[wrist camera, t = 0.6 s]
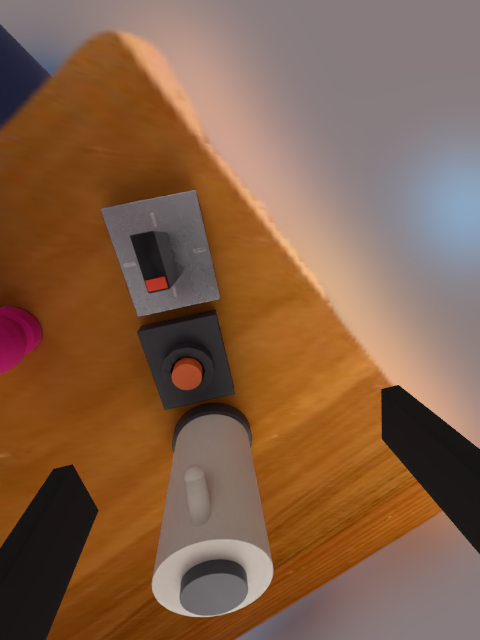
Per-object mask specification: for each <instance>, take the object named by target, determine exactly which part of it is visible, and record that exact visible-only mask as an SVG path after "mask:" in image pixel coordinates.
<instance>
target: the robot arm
mask: <svg viewBox="0 0 480 640" xmlns="http://www.w3.org/2000/svg"><path fill="white" fill-rule="evenodd" d="M381 394H382V440H383V441H384V442H385V443H386V444H387V445H388V447H389V448H390V449H391V450H392V451H393V452H394V454H395V455H396V456H397V457H398V458H399V460H400V461H401V462H402V463H403V464H404V465H405V467H406V468H407V469H408V470H409V471H410V473H411V474H412V475H413V476H414V477H415V478H416V480H417V481H418V482H419V483H420V484H421V485H422V487H423V488H424V489H425V490H426V491H427V493H428V494H429V495H430V496H431V497H432V498H433V500H434V501H435V502H436V503H437V504H438V506H439V507H440V508H441V509H442V510H443V511H444V512H445V514H446V515H447V516H448V517H449V518H450V519H451V521H452V522H453V523H454V524H455V526H456V527H457V528H458V529H459V530H460V531H461V533H462V534H463V535H464V536H465V537H466V539H467V540H468V541H469V542H470V543H471V544H472V546H473V547H474V548H475V549H476V550H477V551H478V553H479V554H480V449H479V448H477V447H476V446H475V445H474V444H472V443H471V442H470V441H469V440H467V439H466V438H465V437H463V436H462V435H461V434H460V433H459V432H457V431H456V430H455V429H453V428H452V427H451V426H450V425H448V424H447V423H446V422H445V421H443V420H442V419H441V418H440V417H438V416H437V415H436V414H434V413H433V412H432V411H431V410H429V409H428V408H427V407H425V406H424V405H423V404H422V403H420V402H419V401H418V400H417V399H415V398H414V397H413V396H412V395H410V394H409V393H408V392H407V391H405V390H404V389H403V388H402V387H400V386H399V385H397V386H392V387H388V388H384V389H381ZM97 513H98V509H97V507H96V505H95V503H94V502H93V500H92V498H91V496H90V495H89V493H88V491H87V489H86V487H85V486H84V484H83V482H82V480H81V479H80V477H79V475H78V473H77V471H76V470H75V468H74V466H73V464H72V465H68V466H64V467H60V468H56V469H53V471H52V472H51V474H50V475H49V476H48V478H47V479H46V481H45V482H44V484H43V485H42V487H41V488H40V490H39V491H38V493H37V494H36V496H35V497H34V499H33V500H32V502H31V503H30V505H29V506H28V508H27V509H26V511H25V512H24V514H23V515H22V517H21V518H20V520H19V521H18V523H17V524H16V526H15V527H14V529H13V530H12V532H11V533H10V535H9V536H8V538H7V539H6V541H5V542H4V544H3V545H2V546H1V548H0V640H46V638H47V636H48V633H49V631H50V628H51V626H52V624H53V621H54V619H55V616H56V614H57V611H58V609H59V606H60V604H61V601H62V599H63V596H64V594H65V592H66V589H67V587H68V584H69V582H70V579H71V577H72V574H73V572H74V569H75V567H76V564H77V562H78V560H79V557H80V555H81V552H82V550H83V547H84V545H85V542H86V540H87V537H88V535H89V532H90V530H91V528H92V525H93V523H94V520H95V518H96V515H97Z"/></svg>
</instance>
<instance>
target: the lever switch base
mask: <svg viewBox="0 0 480 640" xmlns="http://www.w3.org/2000/svg"><path fill="white" fill-rule="evenodd" d="M101 212H102V215H103V218H104V220H105V223H106V226H107V229H108V232H109V235H110V238H111V241H112V243H113V246H114V249H115V252H116V255H117V258H118V261H119V264H120V267H121V269H122V272H123V275H124V278H125V281H126V284H127V287H128V290H129V292H130V295H131V298H132V301H133V304H134V307H135V310H136V313H137V315H138V317H140V316H144V315H149V314H153V313H158V312H163V311H167V310H172V309H176V308H181V307H186V306H190V305H195V304H199V303H204V302H209V301H213V300H218V299H220V293H219V289H218V284H217V280H216V275H215V271H214V267H213V262H212V258H211V253H210V249H209V245H208V240H207V236H206V231H205V227H204V223H203V218H202V214H201V209H200V205H199V200H198V196H197V193H196V190H192V191H187V192H182V193H177V194H172V195H167V196H162V197H157V198H152V199H147V200H142V201H136V202H131V203H126V204H121V205H116V206H111V207H106V208H101ZM148 231H159V232H167V233H168V237H169V241H170V244H171V248H172V252H173V255H174V259H175V262H176V266H177V270H178V273H179V278H178V280H177V281H176V282H175V283H174V285H173V286H172V287H171V289H169V290H164V291H159V292H155V293H150V294H149V293H148V291H147V288H146V285H145V282H144V279H143V276H142V273H141V270H140V266H139V263H138V260H137V257H136V254H135V251H134V248H133V245H132V242H131V239H130V235H134V234H139V233H143V232H148Z"/></svg>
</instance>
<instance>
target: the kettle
mask: <svg viewBox="0 0 480 640" xmlns="http://www.w3.org/2000/svg"><path fill="white" fill-rule="evenodd" d="M251 446H252V435H251V430H250V426H249V422H248V420H247V419H246V417H245V416H244V415H243V414H242V413H241V412H240V411H239V410H238V409H236V408H234V407H232V406H230V405H226V404H222V403H208V404H203V405H199V406H197V407H194V408H193V409H191V410H189V411H188V412H186V413H185V414H184V415H183V416H182V417H181V419H180V420H179V421H178V423H177V425H176V428H175V431H174V437H173V443H172V447H173V452H174V456H173V462H172V468H171V474H170V480H169V486H168V491H167V497H166V503H165V509H164V515H163V521H162V526H161V532H160V538H159V544H158V550H157V556H156V561H155V567H154V573H153V579H152V589H153V593H154V596H155V597H156V599H157V600H158V602H159V603H160V604H161V605H163V606H164V607H165V608H167V609H169V610H171V611H173V612H175V613H178V614H182V615H186V616H193V617H210V616H218V615H223V614H227V613H230V612H233V611H236V610H238V609H241V608H243V607H245V606H247V605H248V604H250V603H252V602H253V601H255V600H256V599H257V598H258V597H260V596H261V595H262V594H263V593H264V591H265V590H266V589H267V587H268V586H269V584H270V582H271V580H272V576H273V564H272V559H271V554H270V548H269V543H268V538H267V532H266V527H265V522H264V516H263V511H262V506H261V500H260V495H259V490H258V485H257V479H256V474H255V469H254V463H253V458H252V453H251Z"/></svg>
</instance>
